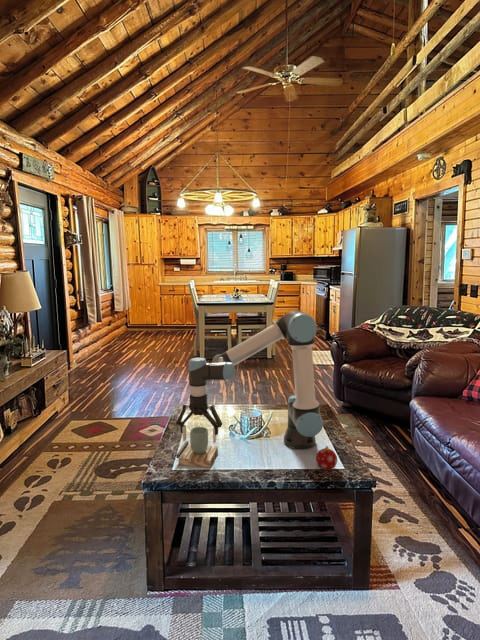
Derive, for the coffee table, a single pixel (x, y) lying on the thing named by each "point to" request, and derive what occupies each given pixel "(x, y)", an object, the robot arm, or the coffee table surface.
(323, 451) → the christmas ornament
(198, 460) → the pallet dock
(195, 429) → the cup
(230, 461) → the coffee table surface
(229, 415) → the coffee table surface
